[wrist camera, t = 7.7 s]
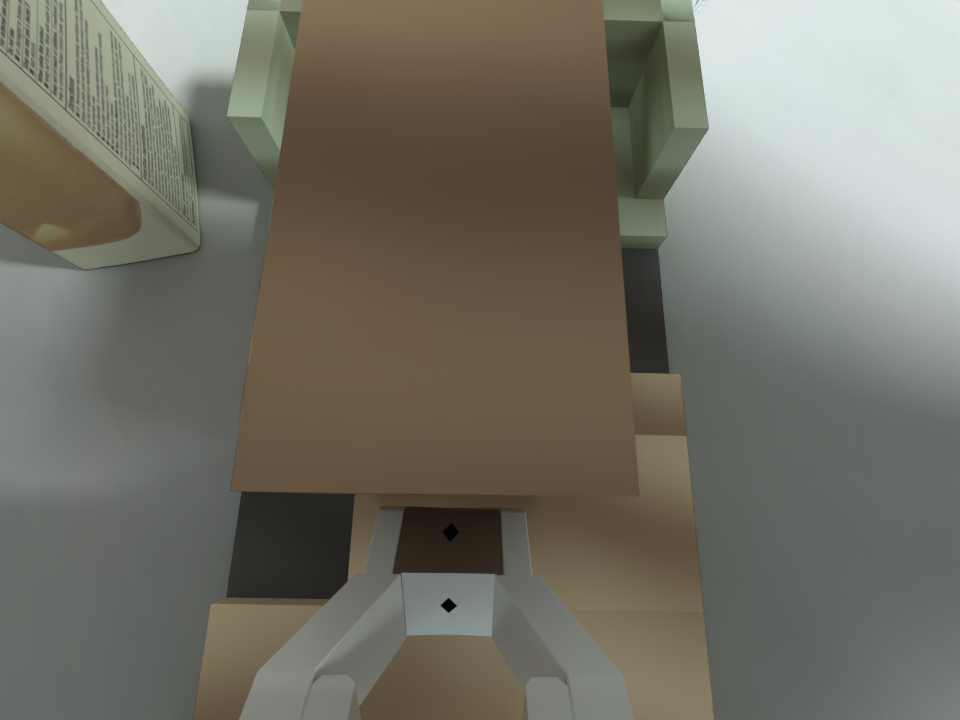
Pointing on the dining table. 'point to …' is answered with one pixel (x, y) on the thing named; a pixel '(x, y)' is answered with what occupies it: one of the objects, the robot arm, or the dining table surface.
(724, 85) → the dining table surface
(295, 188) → the walnut block
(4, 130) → the skincare box
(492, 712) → the wooden slotted tray
